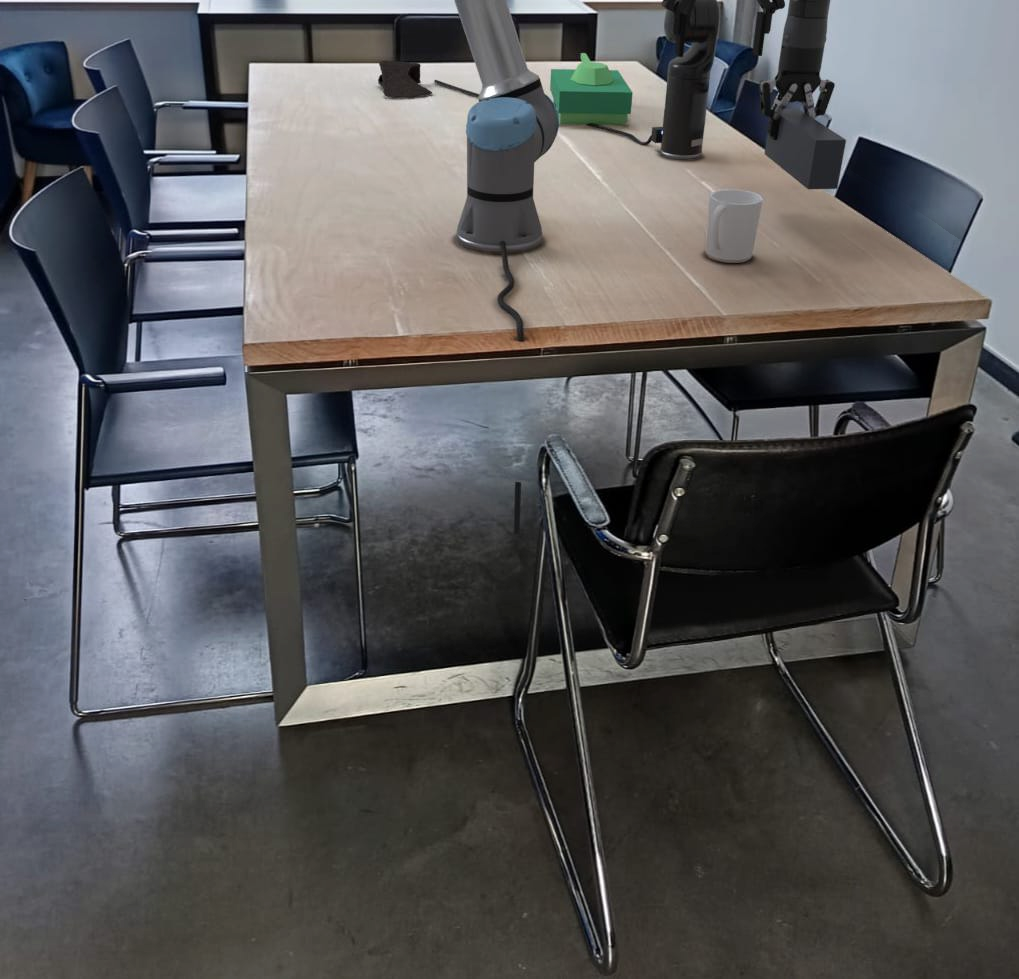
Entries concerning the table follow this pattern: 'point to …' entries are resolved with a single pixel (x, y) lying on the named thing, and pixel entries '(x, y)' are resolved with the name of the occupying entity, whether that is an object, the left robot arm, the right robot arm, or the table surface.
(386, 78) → the axe head
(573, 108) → the toy tank
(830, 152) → the bar
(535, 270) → the table surface
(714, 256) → the mug
